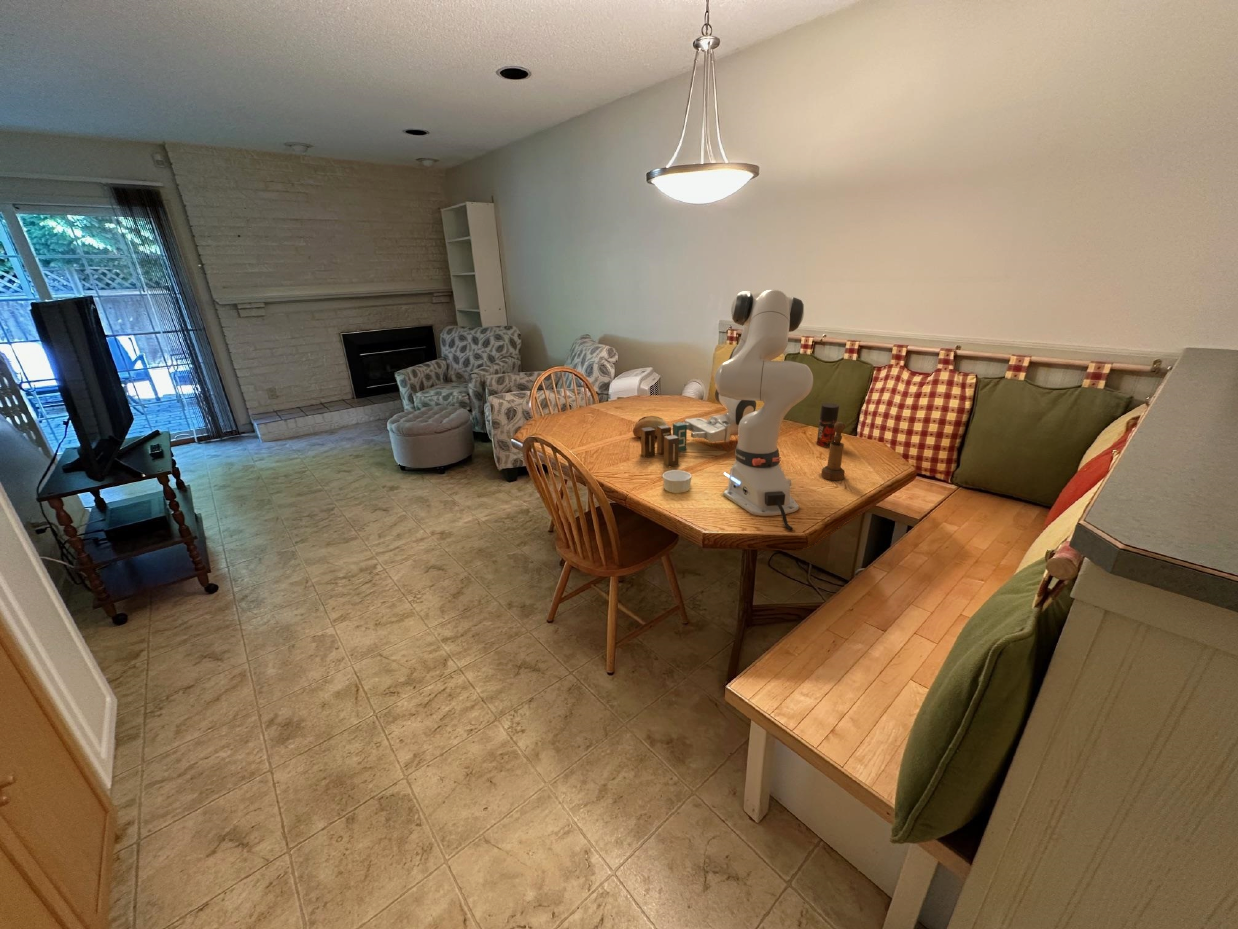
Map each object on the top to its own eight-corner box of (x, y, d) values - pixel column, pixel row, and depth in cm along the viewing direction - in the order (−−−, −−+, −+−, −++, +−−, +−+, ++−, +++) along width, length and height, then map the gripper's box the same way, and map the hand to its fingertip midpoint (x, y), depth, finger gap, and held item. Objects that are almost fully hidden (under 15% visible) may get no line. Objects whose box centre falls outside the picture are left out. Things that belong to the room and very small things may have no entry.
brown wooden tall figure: (836, 472, 155) (843, 418, 148) (848, 479, 149) (856, 424, 142) (817, 473, 154) (824, 420, 147) (828, 481, 148) (836, 426, 141)
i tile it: (650, 452, 177) (650, 426, 174) (655, 455, 174) (655, 429, 170) (641, 454, 176) (640, 428, 172) (645, 457, 173) (644, 431, 169)
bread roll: (631, 433, 199) (630, 415, 196) (666, 431, 201) (666, 412, 198) (634, 440, 190) (634, 421, 188) (671, 438, 192) (671, 419, 189)
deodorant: (813, 444, 180) (818, 405, 175) (821, 440, 184) (826, 402, 178) (828, 447, 176) (834, 408, 171) (836, 444, 180) (842, 405, 174)
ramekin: (656, 488, 148) (656, 475, 146) (676, 480, 153) (676, 467, 151) (677, 496, 141) (677, 483, 140) (697, 488, 147) (697, 475, 145)
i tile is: (673, 461, 168) (674, 434, 164) (678, 465, 165) (679, 437, 161) (663, 463, 167) (663, 436, 163) (668, 467, 163) (668, 439, 160)
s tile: (681, 447, 182) (682, 422, 178) (686, 450, 179) (687, 424, 175) (672, 448, 180) (672, 423, 177) (677, 451, 177) (677, 426, 174)
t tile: (666, 450, 179) (666, 424, 176) (671, 453, 176) (671, 427, 173) (657, 451, 178) (656, 426, 174) (661, 454, 175) (661, 428, 171)
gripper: (703, 412, 190) (672, 417, 186) (733, 425, 173) (699, 431, 168) (702, 427, 193) (672, 432, 188) (732, 442, 175) (699, 448, 170)
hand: (685, 432), depth 178 cm, fingers open, 8 cm apart
